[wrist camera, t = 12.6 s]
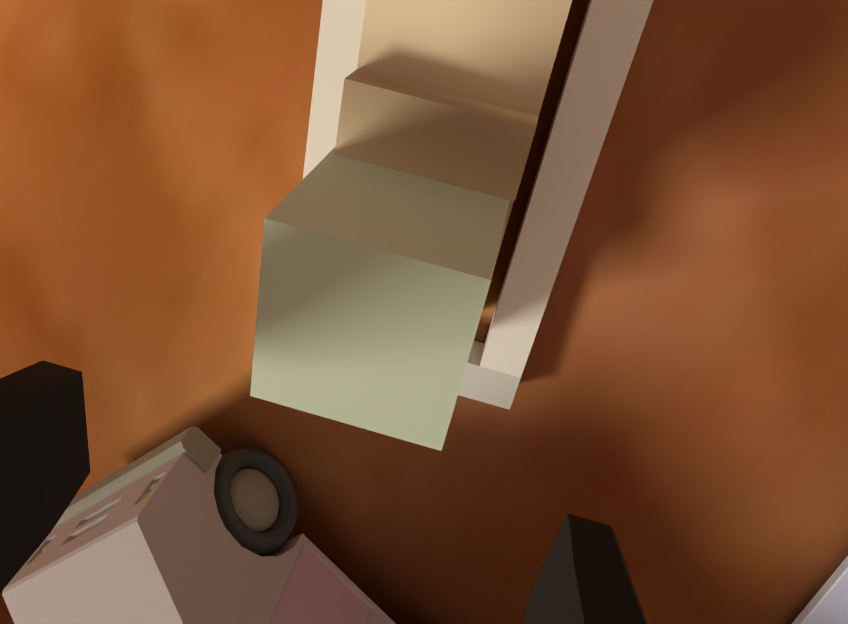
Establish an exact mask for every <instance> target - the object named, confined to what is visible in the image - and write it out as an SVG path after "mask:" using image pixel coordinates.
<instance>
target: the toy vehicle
mask: <svg viewBox="0 0 848 624" xmlns="http://www.w3.org/2000/svg"><path fill="white" fill-rule="evenodd" d="M220 452H221V449H220V448H219V447H218V446H217V445H216V444H215V443H214V442H213V441H212V440H211V439H210V438H209V437H208V436H206V435H205V434H204V433H203V432H202V431H201V430H200V429H199V428H198V427H197V426H191V427H189V428H187V429H186V430H184V431H183V432H181V433H179V434H178V435H176V436H174V437H173V438H171V439H169V440H168V441H166V442H164V443H163V444H161V445H160V446H158V447H156V448H155V449H153V450H151V451H150V452H148V453H146V454H145V455H143V456H141V457H140V458H138V459H136V460H135V461H133V462H132V463H130V464H128V465H127V466H125V467H123V468H122V469H120V470H118V471H117V472H115V473H113V474H112V475H110V476H108V477H107V478H105V479H104V480H102V481H100V482H99V483H97V484H95V485H94V486H92V487H90V488H89V489H87V490H85V491H84V492H82V493H81V494H79V495H77V496H76V497H74V498H73V500H72V501H71V503H70V505H69V506H68V507H67V509H66V510H65V512H64V513H63V515H62V516H61V518H60V519H59V521H58V522H57V524H56V525H55V527H54V528H53V530H52V531H51V533H50V534H49V535H48V536H47V537H46V539H45V540H44V541H43V542H42V544H41V545H40V546H39V547H38V548H37V550H36V551H35V552H34V553H33V554H32V556H31V557H30V558H29V559H28V560H27V562H26V563H25V564H24V565H23V566H22V568H21V569H20V570H19V571H18V572H17V574H16V575H15V576H14V577H13V578H12V580H11V581H10V582H9V583H8V584H7V585H6V587H5V588H4V589H3V592H2V596H3V598H4V600H5V603H6V605H7V607H8V610H9V612H10V615H11V617H12V619H13V622H14V624H396V623H395V622H394V621H392V620H391V619H390V618H389V617H388V616H387V615H386V614H385V613H384V612H383V611H382V610H381V609H380V608H379V607H378V606H377V605H376V604H375V603H374V602H373V601H372V600H371V599H370V598H369V597H368V596H367V595H366V594H365V593H364V592H363V591H362V590H360V589H359V588H358V587H357V586H356V585H355V584H354V583H353V582H352V581H351V580H350V579H349V578H348V577H347V576H346V575H345V574H344V573H343V572H342V571H341V570H340V569H339V568H338V567H337V566H336V565H335V564H334V563H333V562H332V561H331V560H330V559H328V558H327V557H326V556H325V555H324V554H323V553H322V552H321V551H320V550H319V549H318V548H317V547H316V546H315V545H314V544H313V543H312V542H311V541H310V540H309V539H308V538H307V537H306V536H305V535H304V534H303V533H302V534H300V535H297V536H295V537H292V538H290V539H288V537H289V536H290V534H291V533H292V531H293V529H294V527H295V524H296V518H297V511H298V502H297V496H296V490H295V487H294V485H293V482H292V480H291V478H290V476H289V474H288V473H287V471H286V470H285V469H284V467H283V466H282V465H281V463H280V462H279V461H277V460H276V459H275V458H273V457H272V456H271V455H269V454H268V453H266V452H263V451H260V450H256V449H250V448H244V449H236V450H233V451H230V452H228V453H226V454H223V455H222V454H220ZM287 539H288V540H287Z"/></svg>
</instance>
